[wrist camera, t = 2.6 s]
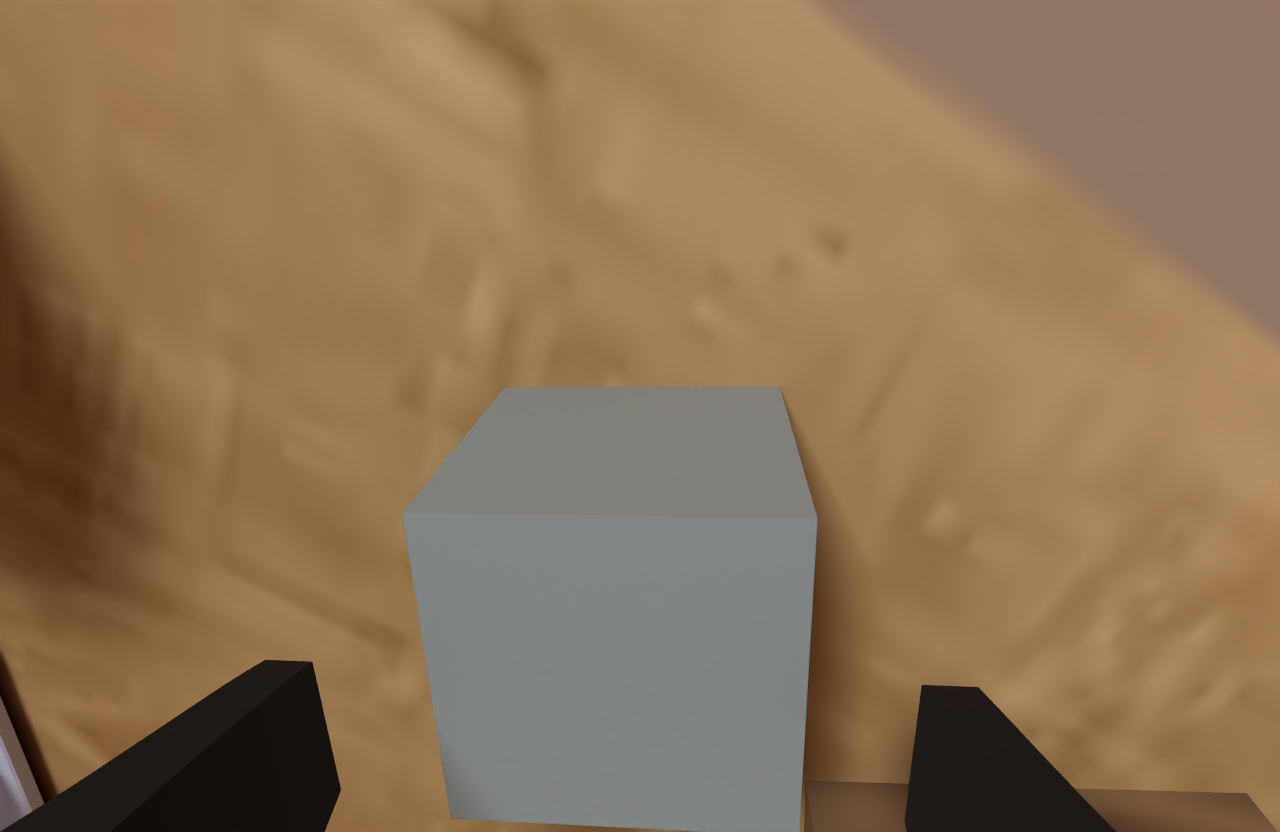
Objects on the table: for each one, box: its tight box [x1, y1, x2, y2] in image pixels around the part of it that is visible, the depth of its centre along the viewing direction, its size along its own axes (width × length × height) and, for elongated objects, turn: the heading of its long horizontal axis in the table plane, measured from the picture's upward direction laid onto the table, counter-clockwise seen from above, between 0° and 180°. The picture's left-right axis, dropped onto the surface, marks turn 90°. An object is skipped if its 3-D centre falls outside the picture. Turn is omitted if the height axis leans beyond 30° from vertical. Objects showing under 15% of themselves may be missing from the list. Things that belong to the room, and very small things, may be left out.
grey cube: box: [402, 387, 818, 832], centre depth 12 cm, size 5×5×5 cm
